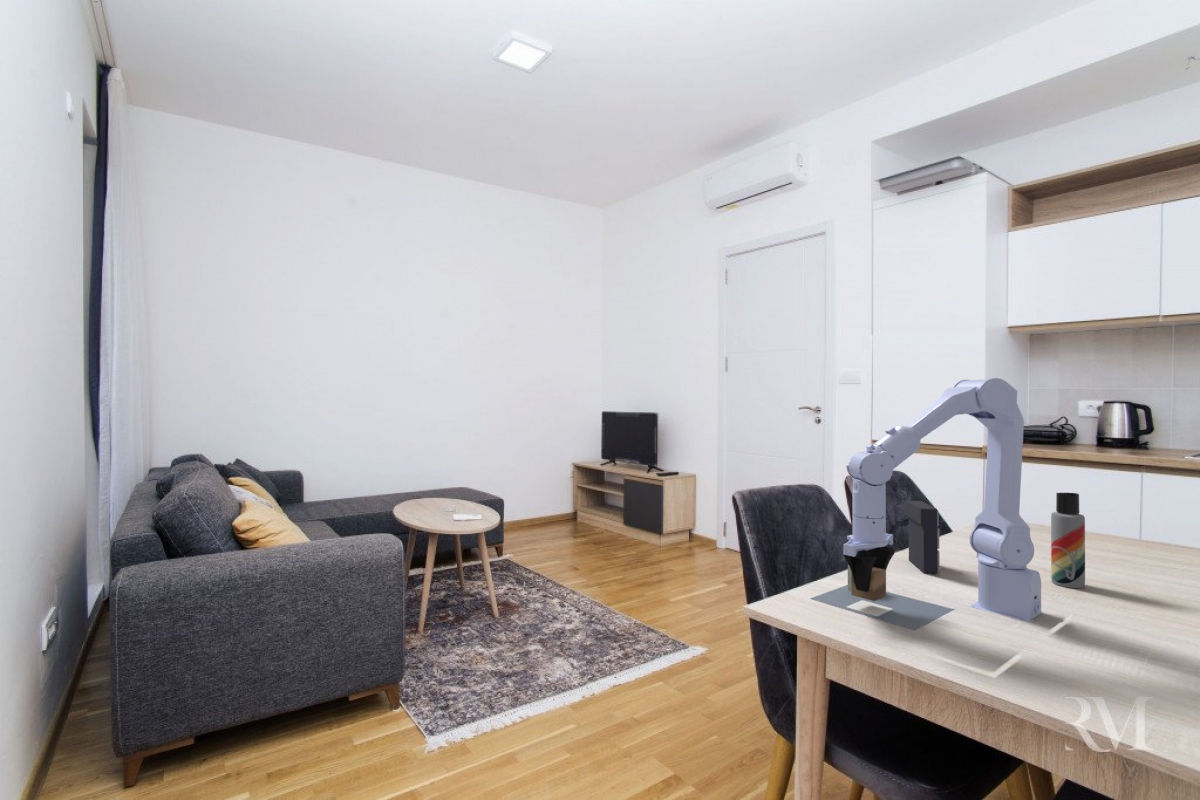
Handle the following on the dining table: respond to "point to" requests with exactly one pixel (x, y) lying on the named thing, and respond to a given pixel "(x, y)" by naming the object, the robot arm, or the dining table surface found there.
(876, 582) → the walnut block
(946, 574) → the dining table surface
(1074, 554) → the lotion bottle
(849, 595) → the grey mat
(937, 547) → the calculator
